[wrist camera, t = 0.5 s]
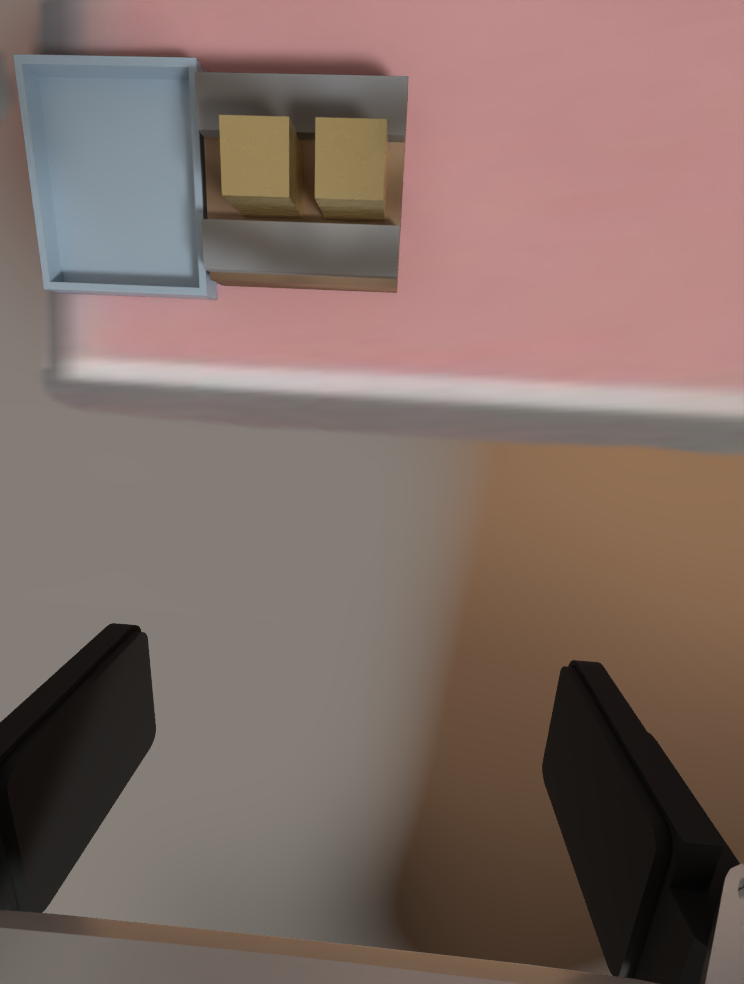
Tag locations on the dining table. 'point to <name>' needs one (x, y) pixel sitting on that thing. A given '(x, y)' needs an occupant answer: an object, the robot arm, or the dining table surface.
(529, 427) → the dining table surface
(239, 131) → the tan wooden cube
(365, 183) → the light brown cube
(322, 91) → the slot bed
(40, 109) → the tray
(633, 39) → the dining table surface
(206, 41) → the dining table surface
